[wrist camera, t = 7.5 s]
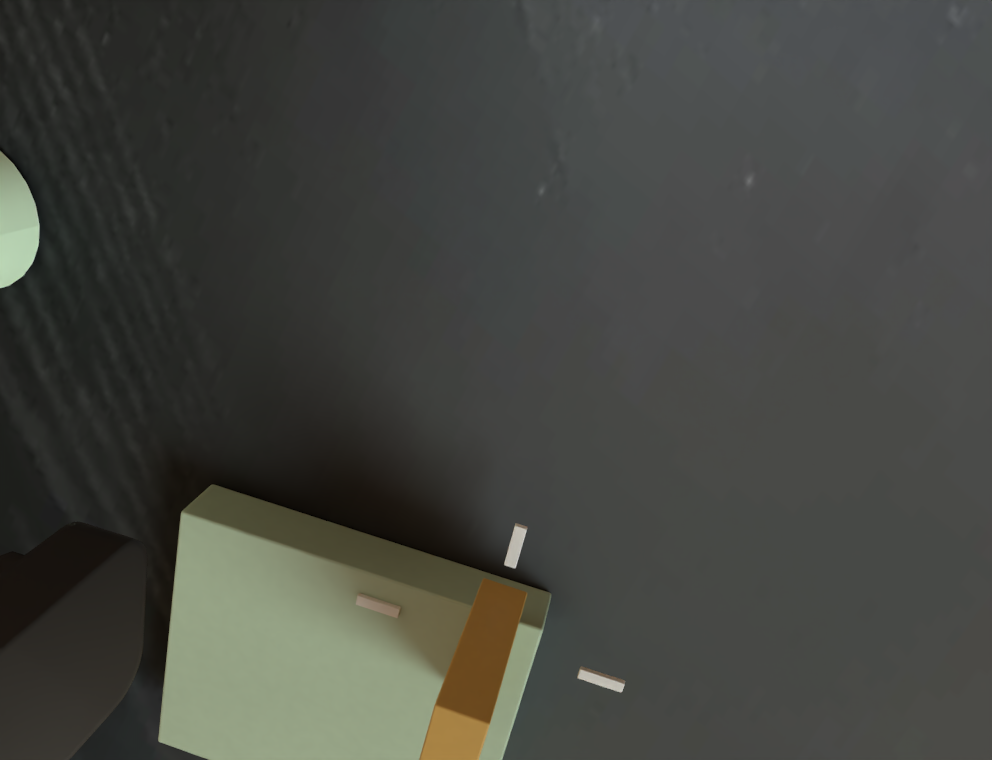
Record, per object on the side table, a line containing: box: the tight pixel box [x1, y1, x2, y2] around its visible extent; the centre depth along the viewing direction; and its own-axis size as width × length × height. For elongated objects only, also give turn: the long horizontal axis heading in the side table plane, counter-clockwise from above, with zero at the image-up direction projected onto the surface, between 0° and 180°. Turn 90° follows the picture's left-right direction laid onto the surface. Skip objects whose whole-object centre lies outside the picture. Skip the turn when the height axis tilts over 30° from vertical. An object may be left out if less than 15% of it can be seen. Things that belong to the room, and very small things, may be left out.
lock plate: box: [158, 485, 625, 760], centre depth 28 cm, size 15×13×2 cm
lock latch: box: [419, 578, 527, 760], centre depth 23 cm, size 4×1×6 cm, turn 166°
